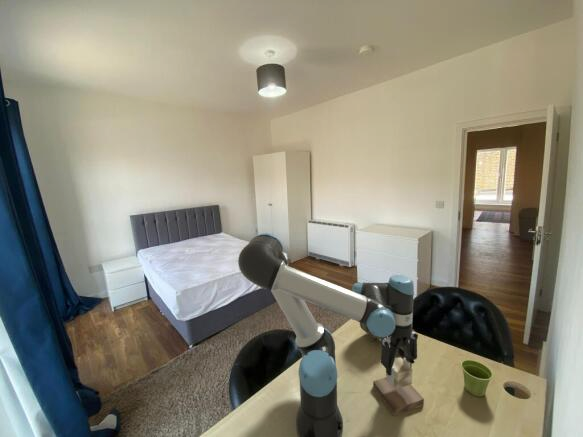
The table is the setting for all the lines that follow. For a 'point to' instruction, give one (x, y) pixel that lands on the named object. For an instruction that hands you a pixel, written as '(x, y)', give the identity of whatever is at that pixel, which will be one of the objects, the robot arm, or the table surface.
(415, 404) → the stand
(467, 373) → the plant pot
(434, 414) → the table surface
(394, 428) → the table surface
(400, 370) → the cube
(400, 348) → the tape measure
